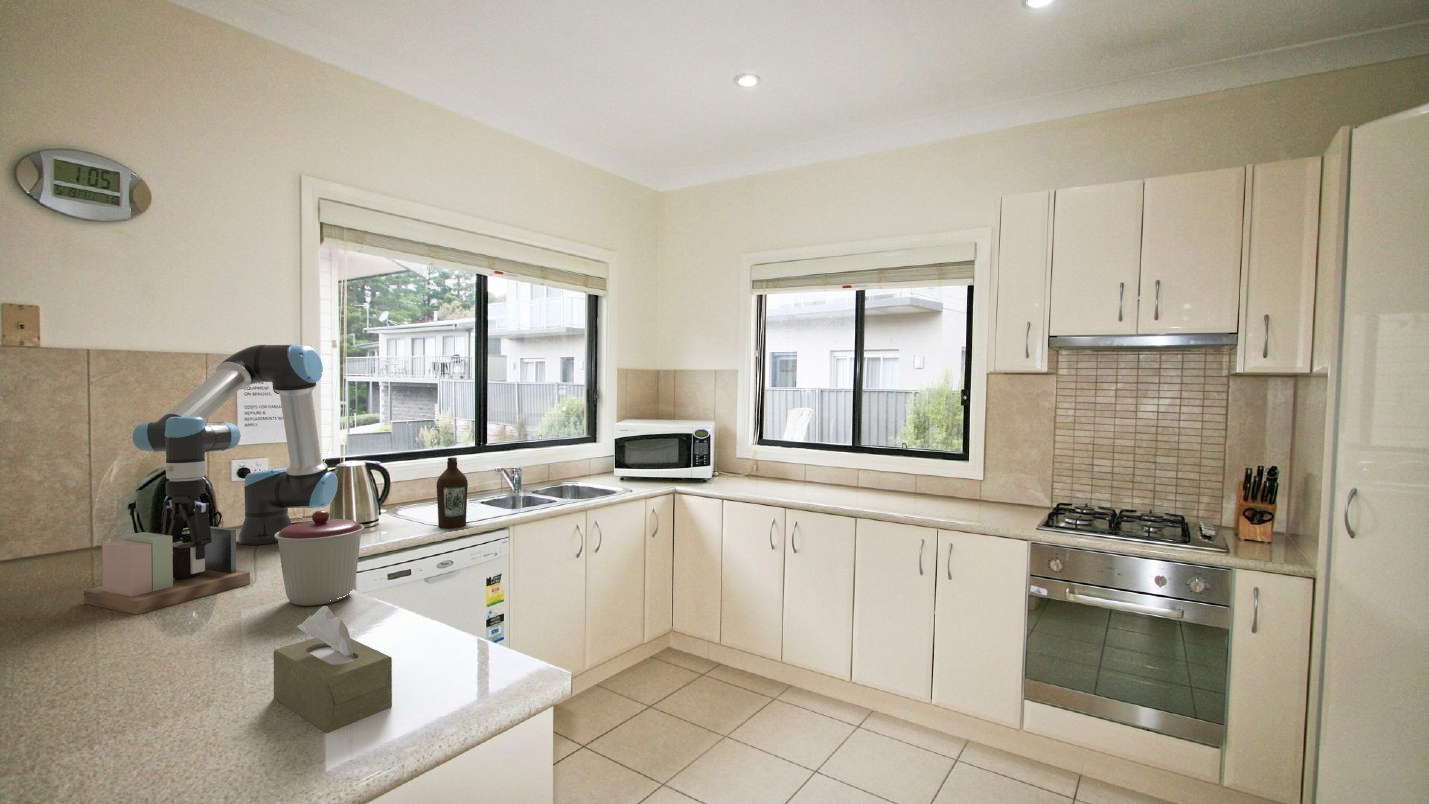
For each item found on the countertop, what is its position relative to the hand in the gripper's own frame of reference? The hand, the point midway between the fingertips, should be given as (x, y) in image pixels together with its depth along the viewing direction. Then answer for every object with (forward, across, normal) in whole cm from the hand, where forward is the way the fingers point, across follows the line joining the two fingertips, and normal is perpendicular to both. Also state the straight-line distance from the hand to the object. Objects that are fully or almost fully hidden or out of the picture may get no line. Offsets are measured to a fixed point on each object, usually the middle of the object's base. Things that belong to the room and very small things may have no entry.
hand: (186, 570), depth 158 cm
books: (+2, 0, -10) cm, 10 cm away
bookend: (+2, 0, +7) cm, 7 cm away
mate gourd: (+2, 0, 0) cm, 2 cm away
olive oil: (+5, +6, +83) cm, 83 cm away
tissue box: (+5, +86, -28) cm, 90 cm away
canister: (+5, +38, +7) cm, 39 cm away
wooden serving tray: (+5, 0, -3) cm, 6 cm away
